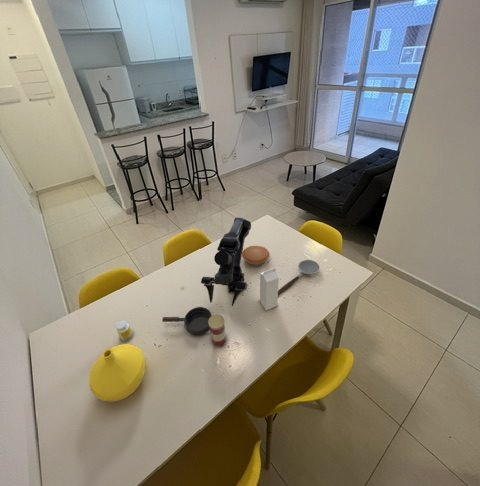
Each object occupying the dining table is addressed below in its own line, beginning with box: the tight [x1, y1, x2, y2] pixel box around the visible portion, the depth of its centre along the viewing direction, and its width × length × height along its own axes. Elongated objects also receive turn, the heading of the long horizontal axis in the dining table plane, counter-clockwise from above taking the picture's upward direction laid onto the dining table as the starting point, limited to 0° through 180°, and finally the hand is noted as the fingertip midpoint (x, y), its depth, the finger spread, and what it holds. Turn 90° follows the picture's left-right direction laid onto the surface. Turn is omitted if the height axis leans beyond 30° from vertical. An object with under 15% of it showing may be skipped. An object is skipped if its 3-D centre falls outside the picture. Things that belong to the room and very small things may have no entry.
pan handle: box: [162, 316, 185, 323], centre depth 112 cm, size 10×2×2 cm, turn 89°
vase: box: [89, 343, 147, 402], centre depth 90 cm, size 18×18×19 cm
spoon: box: [278, 259, 320, 296], centre depth 132 cm, size 11×33×3 cm, turn 129°
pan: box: [183, 306, 213, 337], centre depth 113 cm, size 12×12×4 cm
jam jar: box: [208, 313, 227, 347], centre depth 104 cm, size 6×6×13 cm
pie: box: [241, 245, 270, 267], centre depth 146 cm, size 16×16×5 cm
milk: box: [259, 267, 280, 311], centre depth 115 cm, size 6×6×22 cm
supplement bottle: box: [115, 319, 133, 342], centre depth 108 cm, size 5×5×8 cm
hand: (221, 304), depth 106 cm, fingers open, 9 cm apart
